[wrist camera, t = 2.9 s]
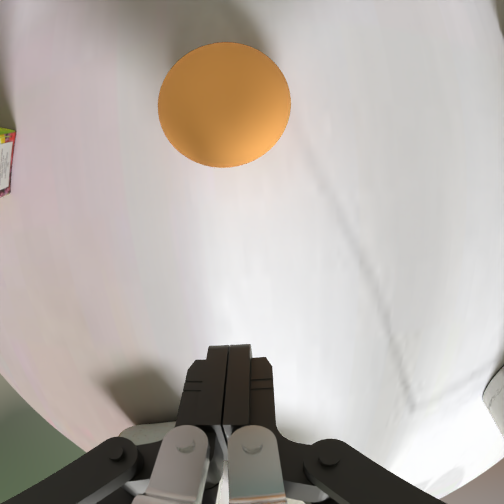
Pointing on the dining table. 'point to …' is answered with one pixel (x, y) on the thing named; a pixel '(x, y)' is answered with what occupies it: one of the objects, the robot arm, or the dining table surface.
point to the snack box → (6, 159)
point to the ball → (224, 104)
